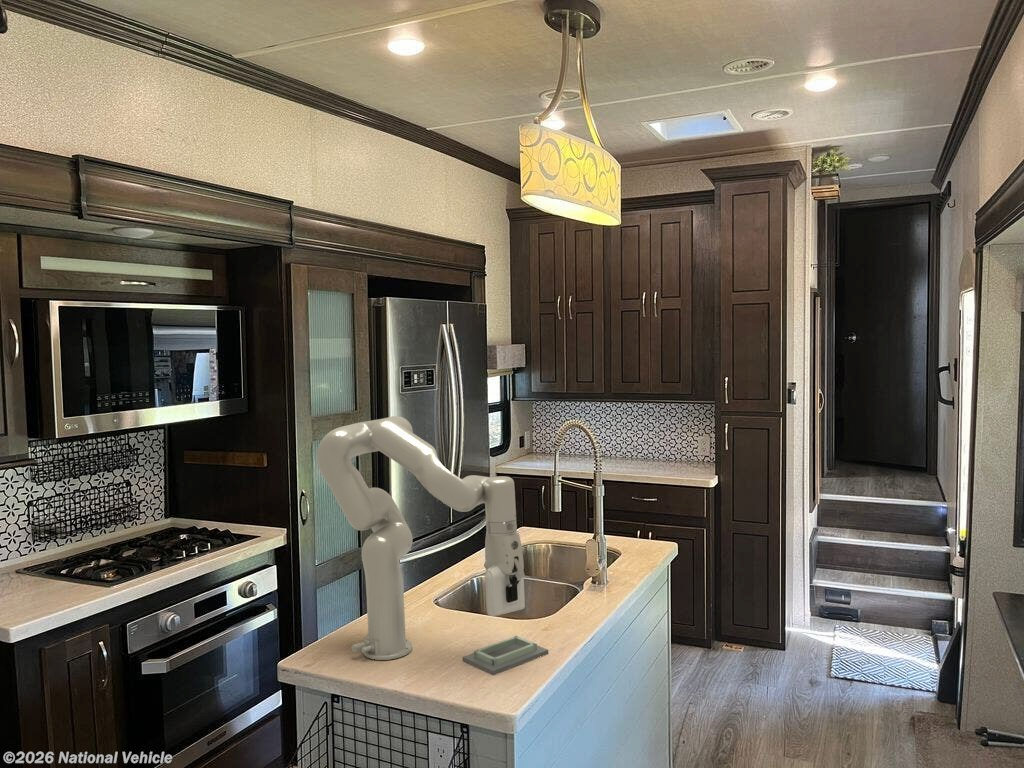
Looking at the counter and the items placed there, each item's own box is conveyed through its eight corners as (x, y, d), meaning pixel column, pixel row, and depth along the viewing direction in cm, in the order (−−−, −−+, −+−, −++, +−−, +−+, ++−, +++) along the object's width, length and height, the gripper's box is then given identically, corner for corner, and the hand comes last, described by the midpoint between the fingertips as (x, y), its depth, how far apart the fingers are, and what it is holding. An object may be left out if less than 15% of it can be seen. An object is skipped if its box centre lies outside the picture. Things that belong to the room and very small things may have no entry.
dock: (493, 675, 186) (492, 664, 186) (462, 660, 195) (462, 650, 195) (548, 653, 198) (548, 643, 197) (517, 641, 207) (516, 631, 207)
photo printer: (518, 604, 200) (515, 557, 200) (527, 609, 197) (525, 560, 196) (484, 614, 195) (481, 564, 194) (493, 618, 191) (490, 568, 190)
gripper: (535, 528, 191) (539, 602, 191) (491, 519, 203) (495, 588, 204) (512, 534, 186) (516, 610, 187) (468, 524, 199) (472, 595, 199)
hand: (505, 598), depth 195 cm, fingers closed on photo printer, 4 cm apart
